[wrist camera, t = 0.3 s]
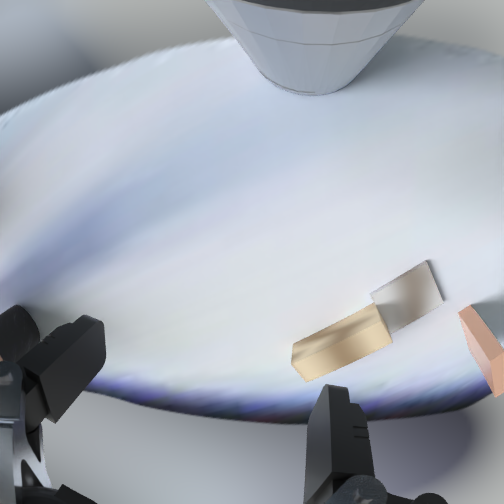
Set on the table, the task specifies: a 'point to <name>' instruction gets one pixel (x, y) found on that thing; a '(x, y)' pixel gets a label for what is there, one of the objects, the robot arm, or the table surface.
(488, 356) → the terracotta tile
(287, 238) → the table surface
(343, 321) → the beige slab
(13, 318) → the travel mug
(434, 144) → the table surface
